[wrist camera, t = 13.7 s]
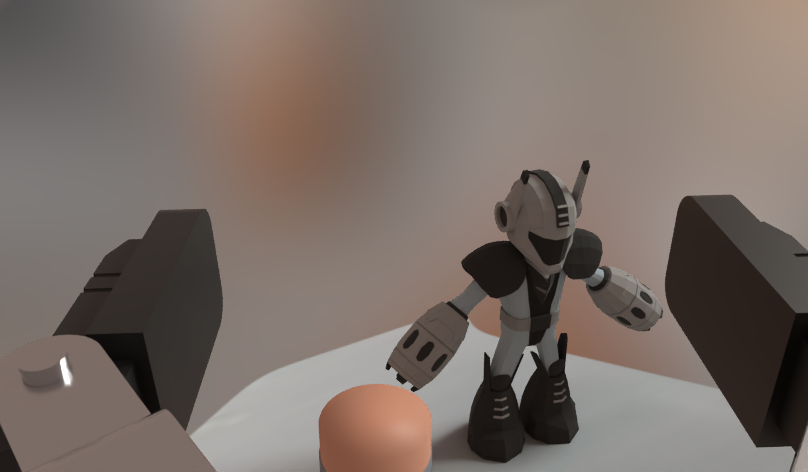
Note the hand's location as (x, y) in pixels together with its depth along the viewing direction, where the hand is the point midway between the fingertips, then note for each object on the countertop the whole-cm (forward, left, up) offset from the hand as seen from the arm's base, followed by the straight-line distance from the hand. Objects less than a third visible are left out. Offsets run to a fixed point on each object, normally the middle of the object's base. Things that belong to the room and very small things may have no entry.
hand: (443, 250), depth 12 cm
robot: (-8, -27, -29) cm, 40 cm away
